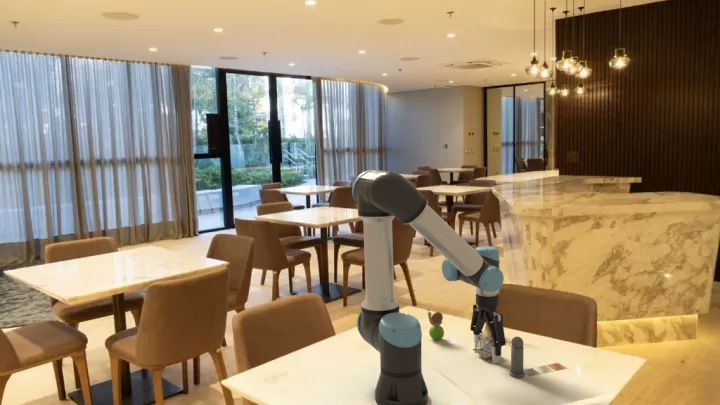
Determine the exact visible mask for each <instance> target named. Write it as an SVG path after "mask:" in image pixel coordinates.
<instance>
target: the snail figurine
mask: <svg viewBox="0 0 720 405" xmlns="http://www.w3.org/2000/svg"><path fill="white" fill-rule="evenodd" d="M430 311H431V310H430V309H429V308H428V309H427V318H428V320H429V323H430V325H431V327H430V328H429V331H428V334H429V337H430V338H431V339H433V340H435V341H439V340H441V339H442V338H444V335H445V331H444V328H443V327H442V326H441V325H442V324H443V319H444V318H443V317H444V316H443V313H442V312H440V311H436V312H434V313H433V314H432V312H430Z"/></svg>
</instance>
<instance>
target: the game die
mask: <svg viewBox="0 0 720 405" xmlns="http://www.w3.org/2000/svg"><path fill="white" fill-rule="evenodd" d="M478 338H479V341H478V343H477V346H476V348H475V347H474V348H473V349H472V351H473V352H475V350H476V352H477V353H476V354H478V355H479V356H480V358H481V359H483V360H487V359H492V345H494V343H493V339H492V337H491V335H490V337H485V338H480V337H479V336H478ZM502 347H503V346H501V348H502Z"/></svg>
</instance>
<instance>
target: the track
mask: <svg viewBox="0 0 720 405" xmlns="http://www.w3.org/2000/svg"><path fill="white" fill-rule="evenodd" d="M566 369H567V370H568V367H566V366H565V365H562V364H561V363H559V362H554V363H551V364H545V365H541V366H535V367H530V368H525V369H523V371H524V372H525V377H523V378H529V377H533V376H538V375H542V374H548V373H552V372H553V373H554V372H555V371H557V372H558V371H563V370H566ZM506 375H508V376H510V375H509V372H506ZM510 377H511V378H513V379H514V380H518V379H520V378H514V377H512V376H510ZM523 378H522V379H523Z"/></svg>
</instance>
